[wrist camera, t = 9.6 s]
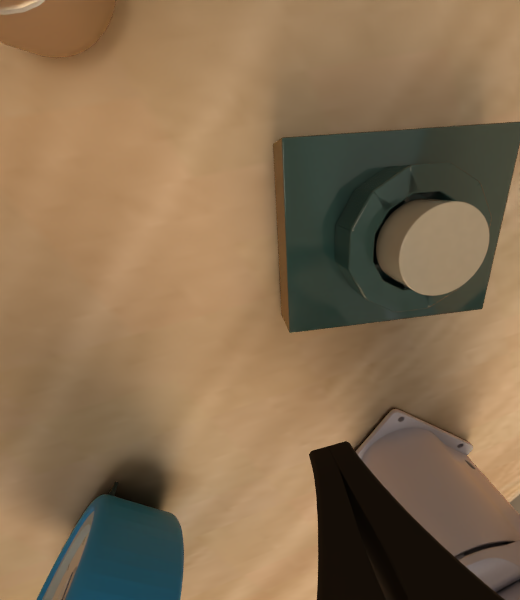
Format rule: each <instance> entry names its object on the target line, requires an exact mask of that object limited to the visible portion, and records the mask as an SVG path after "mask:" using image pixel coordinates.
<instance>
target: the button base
mask: <svg viewBox="0 0 520 600" xmlns="http://www.w3.org/2000/svg"><path fill="white" fill-rule="evenodd" d="M519 145H520V122H507V123H492V124H477V125H463V126H448V127H433V128H418V129H403V130H388V131H373V132H358V133H344V134H329V135H314V136H299V137H284V138H281V139H280V140H278V141H277V142H275V143H274V144H273V154H274V174H275V194H276V214H277V234H278V254H279V274H280V294H281V315H282V317H283V319H284V321H285V324H286V326H287V328H288V330H289V332H290V333H293V332H301V331H309V330H317V329H325V328H333V327H341V326H349V325H357V324H366V323H374V322H382V321H390V320H398V319H406V318H414V317H422V316H430V315H438V314H446V313H454V312H462V311H470V310H478V309H482V308H483V303H484V299H485V295H486V290H487V286H488V281H489V277H490V273H491V268H492V264H493V259H494V255H495V251H496V246H497V242H498V237H499V233H500V229H501V224H502V220H503V215H504V211H505V207H506V202H507V198H508V193H509V189H510V185H511V180H512V176H513V171H514V167H515V163H516V158H517V154H518V149H519ZM421 198H428V199H439V200H451V201H460V202H466V203H469V204H471V205H473V206H475V207H476V208H477V209H478V210H479V211H480V212H481V213H482V214H483V215H484V217H485V219H486V221H487V223H488V227H489V245H488V250H487V253H486V256H485V258H484V260H483V262H482V264H481V266H480V267H479V269H478V270H477V271H476V273H475V274H474V275H473V276H472V277H471V278H470V279H469V280H468V281H467V282H466V283H465V284H463V285H462V286H460V287H459V288H457V289H455V290H454V291H451V292H449V293H446V294H442V295H435V296H429V295H422V294H419V293H417V292H415V291H413V290H411V289H410V288H408V287H406V286H404V285H403V284H401V283H399V282H397V281H396V280H394V279H392V278H390V277H389V276H388V275H386V274H385V273H384V271H383V270H382V269H381V267H380V265H379V263H378V260H377V256H376V243H377V238H378V235H379V232H380V229H381V228H382V226H383V224H384V222H385V221H386V219H387V218H388V217H389V216H390V215H391V214H392V213H393V212H394V211H395V210H396V209H397V208H399V207H400V206H402V205H403V204H405V203H407V202H409V201H412V200H416V199H421Z"/></svg>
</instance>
